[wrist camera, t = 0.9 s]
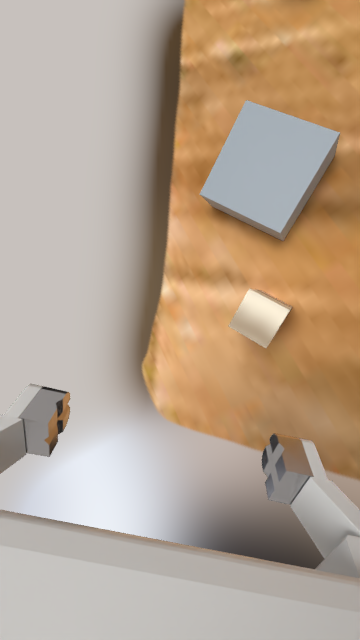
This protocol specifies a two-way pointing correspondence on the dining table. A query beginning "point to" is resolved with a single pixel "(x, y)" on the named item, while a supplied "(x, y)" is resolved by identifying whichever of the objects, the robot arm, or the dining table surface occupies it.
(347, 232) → the dining table surface
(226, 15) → the dining table surface
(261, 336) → the birch block
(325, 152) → the slate block
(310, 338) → the dining table surface
